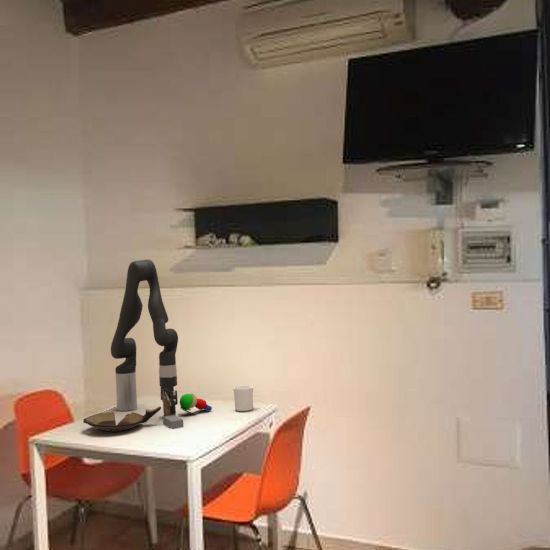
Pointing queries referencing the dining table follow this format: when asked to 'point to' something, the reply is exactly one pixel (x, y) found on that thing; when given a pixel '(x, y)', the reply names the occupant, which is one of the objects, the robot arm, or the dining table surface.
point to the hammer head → (173, 421)
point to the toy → (193, 403)
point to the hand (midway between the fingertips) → (169, 412)
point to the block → (166, 407)
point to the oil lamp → (130, 420)
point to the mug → (243, 398)
